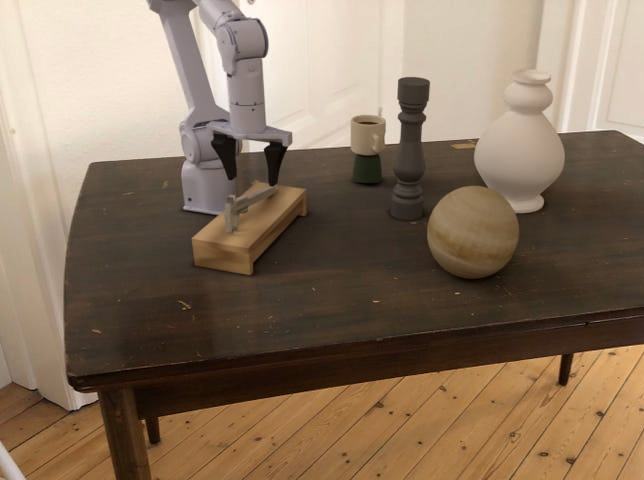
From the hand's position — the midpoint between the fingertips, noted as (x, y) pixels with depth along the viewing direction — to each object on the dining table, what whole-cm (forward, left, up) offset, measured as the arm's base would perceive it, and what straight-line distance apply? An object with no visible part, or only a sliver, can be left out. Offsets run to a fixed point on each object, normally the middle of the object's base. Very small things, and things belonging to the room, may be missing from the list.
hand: (252, 181), depth 127 cm
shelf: (0, -1, -10) cm, 10 cm away
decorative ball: (+39, -1, -11) cm, 40 cm away
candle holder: (+23, +19, -11) cm, 32 cm away
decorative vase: (+42, +33, -11) cm, 55 cm away
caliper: (0, 0, -6) cm, 6 cm away
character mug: (+11, +32, -11) cm, 36 cm away
